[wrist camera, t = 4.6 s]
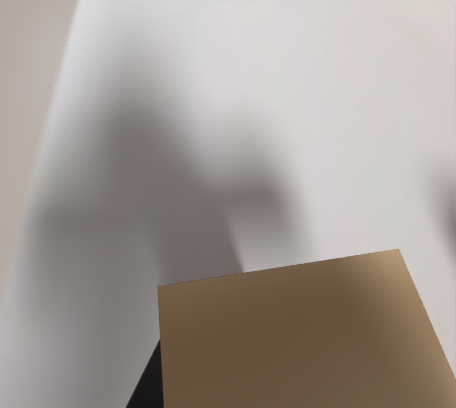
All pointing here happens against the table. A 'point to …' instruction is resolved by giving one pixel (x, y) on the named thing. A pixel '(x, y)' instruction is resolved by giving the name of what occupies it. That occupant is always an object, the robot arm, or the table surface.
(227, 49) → the table surface
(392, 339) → the tall oak block
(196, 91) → the table surface
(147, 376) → the robot arm
